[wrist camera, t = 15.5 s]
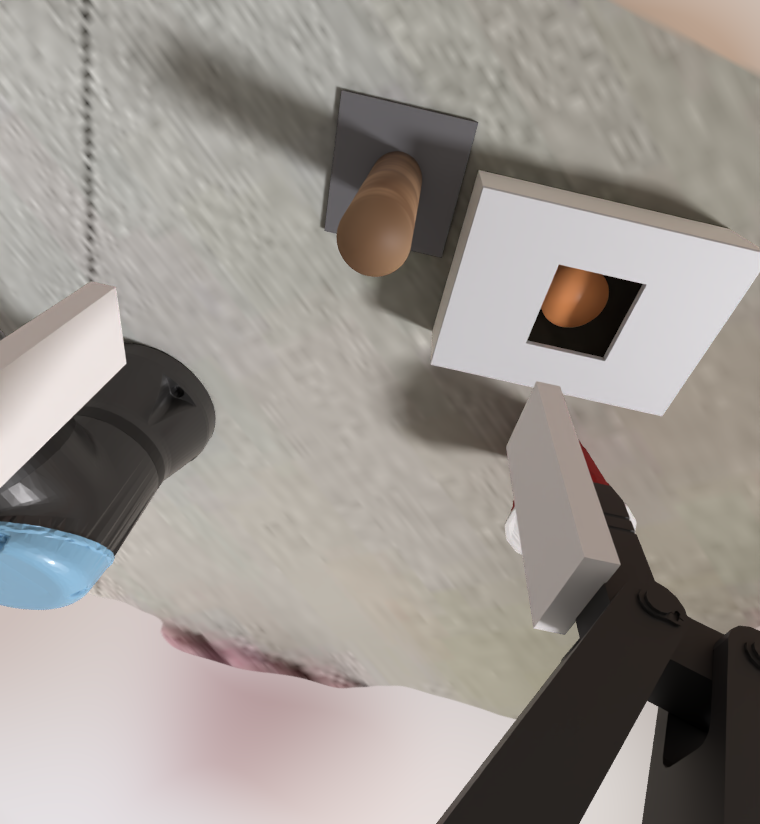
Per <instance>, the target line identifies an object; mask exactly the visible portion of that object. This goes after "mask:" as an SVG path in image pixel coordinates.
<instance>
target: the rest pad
mask: <svg viewBox="0 0 760 824" xmlns="http://www.w3.org/2000/svg"><path fill="white" fill-rule="evenodd" d="M477 125H478V122H475V121H470V120H466V119H462V118H458V117H454V116H449V115H445V114H441V113H437V112H433V111H428V110H424V109H420V108H416V107H412V106H407V105H403V104H399V103H395V102H391V101H386V100H382V99H378V98H374V97H370V96H365V95H361V94H357V93H353V92H349V91H344V90H342V92H341V100H340V108H339V116H338V124H337V132H336V141H335V149H334V157H333V165H332V173H331V181H330V189H329V198H328V206H327V214H326V222H325V230H324V231H328V232H332V233H336V234H337V229H338V225H339V222H340V220H341V218H342V217H343V215H344V213H345V212H346V210H347V208H348V207H349V205H350V204H351V202H352V200H353V199H354V197H355V195H356V194H357V192H358V191H359V189H360V187H361V186H362V184H363V182H364V181H365V179H366V178H367V176H368V174H369V173H370V171H371V169H372V168H373V166H374V164H375V163H376V162H377V160H378V159H379V158H380V157H381V156H383V155H384V154H386V153H389V152H394V151H399V152H404V153H406V154H408V155H410V156H411V157H413V158H414V159H415V161H416V162H417V163H418V165H419V167H420V169H421V173H422V186H421V192H420V198H419V203H418V209H417V215H416V220H415V226H414V232H413V237H412V243H411V249H410V251H415V252H419V253H423V254H428V255H432V256H436V257H441V258H442V254H443V250H444V247H445V243H446V239H447V236H448V232H449V228H450V225H451V221H452V217H453V214H454V210H455V206H456V203H457V199H458V195H459V192H460V188H461V184H462V181H463V177H464V173H465V170H466V166H467V162H468V158H469V155H470V151H471V147H472V144H473V140H474V136H475V133H476V129H477Z"/></svg>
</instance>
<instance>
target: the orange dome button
mask: <svg viewBox="0 0 760 824" xmlns="http://www.w3.org/2000/svg"><path fill="white" fill-rule="evenodd" d="M608 296H609V288H608V284H607V281H606V279H605V278H604V276H603V275H602V274H598V273H594V272H590V271H585V270H581V269H577V268H572V267H568V266H564V265H559V266H558V268H557V270H556V273H555V275H554V277H553V280H552V282H551V285H550V287H549V289H548V292H547V294H546V296H545V299H544V301H543V304H542V306H541V309H542V311H543V314H544V315H545V317H546V318H547V319H548V320H549V321H550V322H552V323H553V324H555V325H557V326H561V327H577V326H581V325H584V324H586V323H588V322H590V321H591V320H593V319H594V318H596V317H597V316H598V315H599V314H600V313H601V311H602V310H603V309H604V307H605V305H606V303H607V300H608Z"/></svg>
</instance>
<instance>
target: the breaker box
mask: <svg viewBox="0 0 760 824" xmlns="http://www.w3.org/2000/svg"><path fill="white" fill-rule="evenodd" d="M559 265H564V266H568V267H572V268H577V269H581V270H585V271H590V272H594V273H598V274H603V275H607V276H611V277H616V278H620V279H624V280H629V281H633V282H637V283H642V284H643V285H642V286H641V288H640V290H639V292H638V294H637V296H636V298H635V299H634V301H633V303H632V305H631V307H630V309H629V311H628V312H627V314H626V316H625V318H624V320H623V322H622V324H621V325H620V327H619V329H618V331H617V333H616V335H615V337H614V338H613V340H612V342H611V344H610V346H609V348H608V350H607V351H606V353H605V355H604V357H599V356H594V355H590V354H586V353H581V352H577V351H572V350H568V349H564V348H559V347H555V346H550V345H546V344H541V343H537V342H533V341H528V340H527V339H528V337H529V334H530V332H531V330H532V327H533V325H534V323H535V320H536V318H537V315H538V313H539V311H540V308H541V306H542V304H543V301H544V299H545V296H546V294H547V292H548V289H549V287H550V285H551V282H552V280H553V277H554V275H555V273H556V270H557V268H558V266H559ZM759 272H760V248H759V247H758V246H756V245H755V244H753V243H752V242H750V241H748V240H747V239H745V238H744V237H742V236H740V235H739V234H737V233H736V232H734V231H733V230H731V229H728V228H724V227H719V226H715V225H711V224H707V223H702V222H698V221H694V220H690V219H685V218H681V217H677V216H673V215H668V214H664V213H660V212H656V211H651V210H647V209H643V208H639V207H634V206H630V205H626V204H622V203H617V202H613V201H609V200H605V199H600V198H596V197H592V196H588V195H583V194H579V193H575V192H571V191H566V190H562V189H558V188H554V187H549V186H545V185H541V184H537V183H532V182H528V181H524V180H520V179H515V178H511V177H507V176H503V175H498V174H494V173H490V172H486V171H481V170H478V174H477V177H476V181H475V184H474V188H473V191H472V195H471V198H470V201H469V205H468V208H467V212H466V215H465V219H464V222H463V226H462V229H461V233H460V236H459V240H458V243H457V247H456V250H455V254H454V257H453V261H452V264H451V268H450V271H449V275H448V278H447V282H446V285H445V289H444V292H443V296H442V299H441V303H440V306H439V310H438V313H437V317H436V320H435V324H434V327H433V331H432V347H431V365H435V366H439V367H444V368H448V369H453V370H457V371H462V372H466V373H471V374H475V375H480V376H484V377H489V378H493V379H498V380H502V381H507V382H511V383H516V384H520V385H525V386H529V387H534V385H535V383H536V381H538V382H543V383H547V384H552V385H556V386H560V387H561V390H562V393H563V394H565V395H569V396H574V397H578V398H583V399H587V400H592V401H596V402H601V403H605V404H610V405H614V406H619V407H623V408H627V409H632V410H636V411H641V412H645V413H650V414H654V415H659V416H662V415H663V414H664V413H665V411H666V410H667V408H668V407H669V405H670V404H671V402H672V401H673V399H674V398H675V396H676V395H677V393H678V392H679V390H680V389H681V387H682V386H683V385H684V383H685V382H686V380H687V379H688V377H689V376H690V374H691V373H692V371H693V370H694V368H695V367H696V365H697V364H698V362H699V361H700V359H701V358H702V356H703V355H704V354H705V352H706V351H707V349H708V348H709V346H710V345H711V343H712V342H713V340H714V339H715V337H716V336H717V334H718V333H719V331H720V330H721V328H722V327H723V326H724V324H725V323H726V321H727V320H728V318H729V317H730V315H731V314H732V312H733V311H734V309H735V308H736V306H737V305H738V303H739V302H740V300H741V299H742V298H743V296H744V295H745V293H746V292H747V290H748V289H749V287H750V286H751V284H752V283H753V281H754V280H755V278H756V277H757V275H758V274H759Z"/></svg>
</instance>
